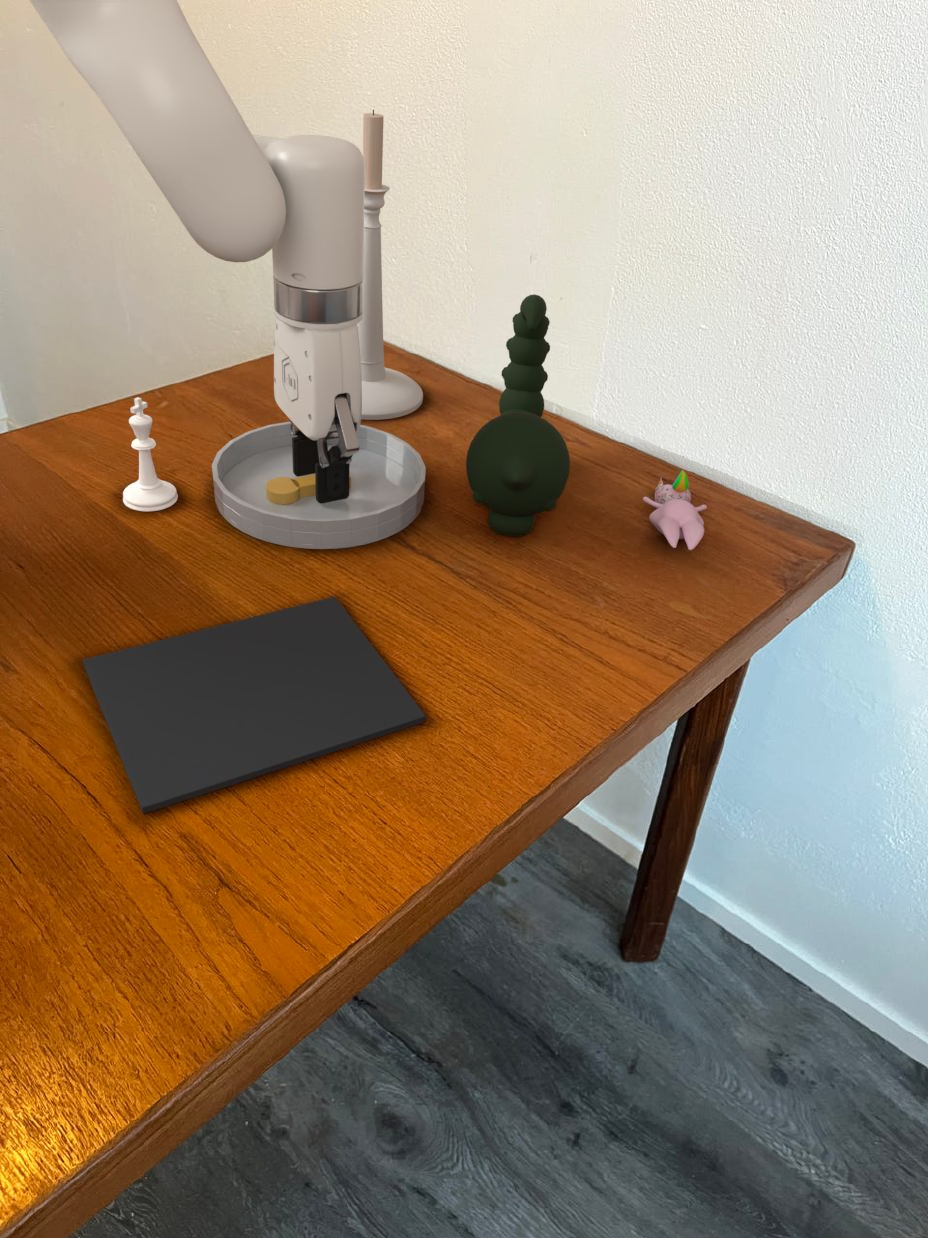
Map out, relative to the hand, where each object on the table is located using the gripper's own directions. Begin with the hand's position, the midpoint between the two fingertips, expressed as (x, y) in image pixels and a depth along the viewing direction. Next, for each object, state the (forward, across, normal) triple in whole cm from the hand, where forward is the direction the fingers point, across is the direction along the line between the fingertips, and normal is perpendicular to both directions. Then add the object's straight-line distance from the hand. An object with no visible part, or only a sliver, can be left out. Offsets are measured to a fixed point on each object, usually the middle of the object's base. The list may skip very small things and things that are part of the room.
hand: (320, 484), depth 94 cm
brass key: (0, 0, -2) cm, 2 cm away
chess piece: (+1, -5, -15) cm, 16 cm away
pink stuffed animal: (+1, +19, +28) cm, 34 cm away
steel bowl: (+1, 0, 0) cm, 1 cm away
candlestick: (+1, -19, +14) cm, 24 cm away
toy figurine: (+1, +8, +17) cm, 19 cm away
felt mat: (+1, +25, -16) cm, 30 cm away
